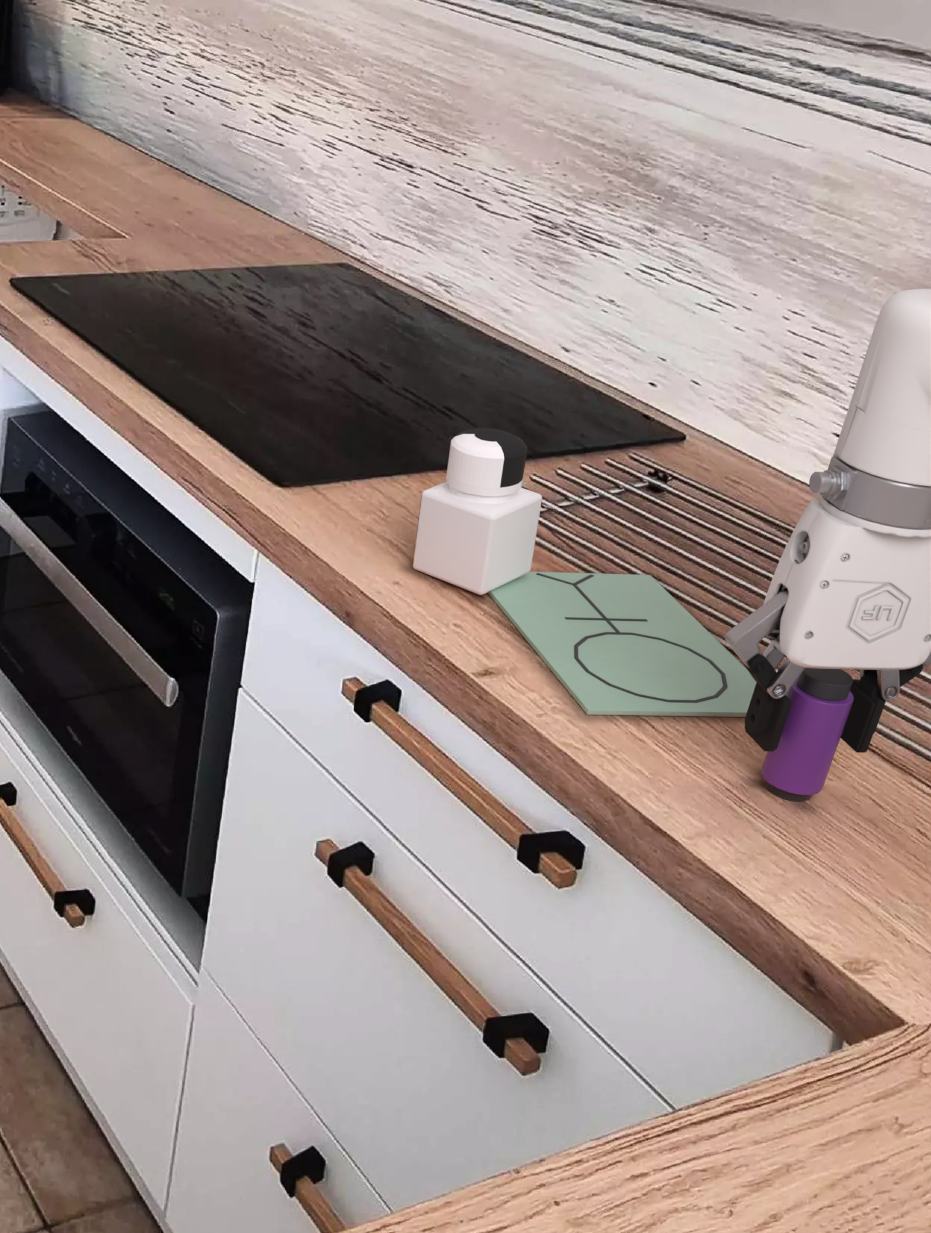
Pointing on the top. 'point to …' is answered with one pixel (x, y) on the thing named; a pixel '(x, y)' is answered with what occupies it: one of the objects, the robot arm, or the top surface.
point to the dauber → (809, 734)
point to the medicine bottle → (479, 514)
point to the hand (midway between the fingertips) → (804, 739)
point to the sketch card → (625, 645)
